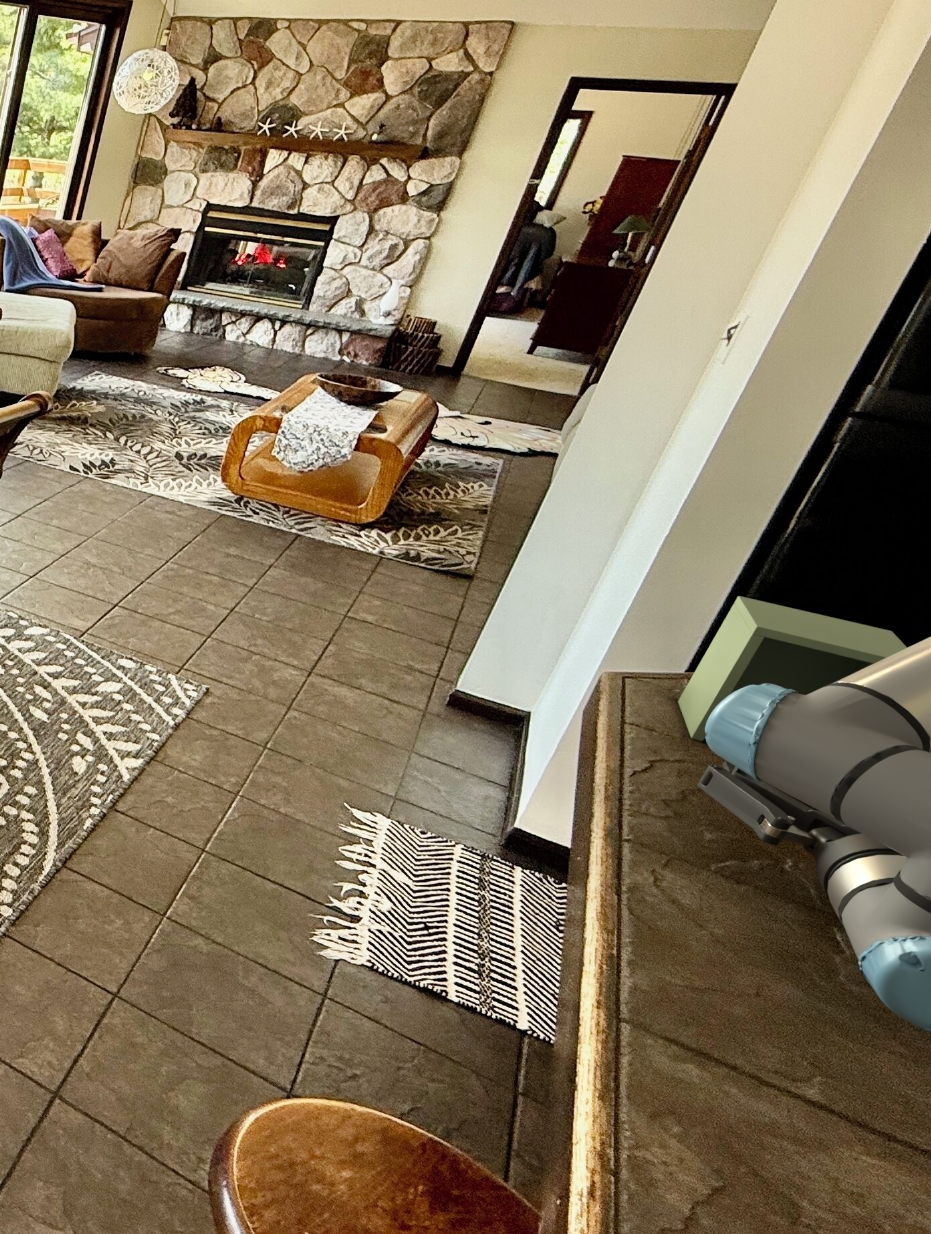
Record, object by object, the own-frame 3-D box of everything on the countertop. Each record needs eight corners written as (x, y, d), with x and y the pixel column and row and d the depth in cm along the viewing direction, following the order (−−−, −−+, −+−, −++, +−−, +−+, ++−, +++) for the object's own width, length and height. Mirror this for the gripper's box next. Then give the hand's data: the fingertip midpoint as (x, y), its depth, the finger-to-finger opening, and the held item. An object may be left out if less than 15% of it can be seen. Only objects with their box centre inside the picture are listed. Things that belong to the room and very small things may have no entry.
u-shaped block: (819, 743, 118) (892, 631, 112) (844, 785, 109) (925, 666, 103) (676, 703, 125) (738, 595, 119) (689, 740, 116) (756, 626, 110)
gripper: (669, 859, 91) (644, 764, 106) (1103, 1009, 77) (1000, 874, 92) (711, 791, 88) (679, 704, 103) (1170, 934, 74) (1052, 808, 89)
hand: (831, 784), depth 98 cm, fingers open, 13 cm apart
